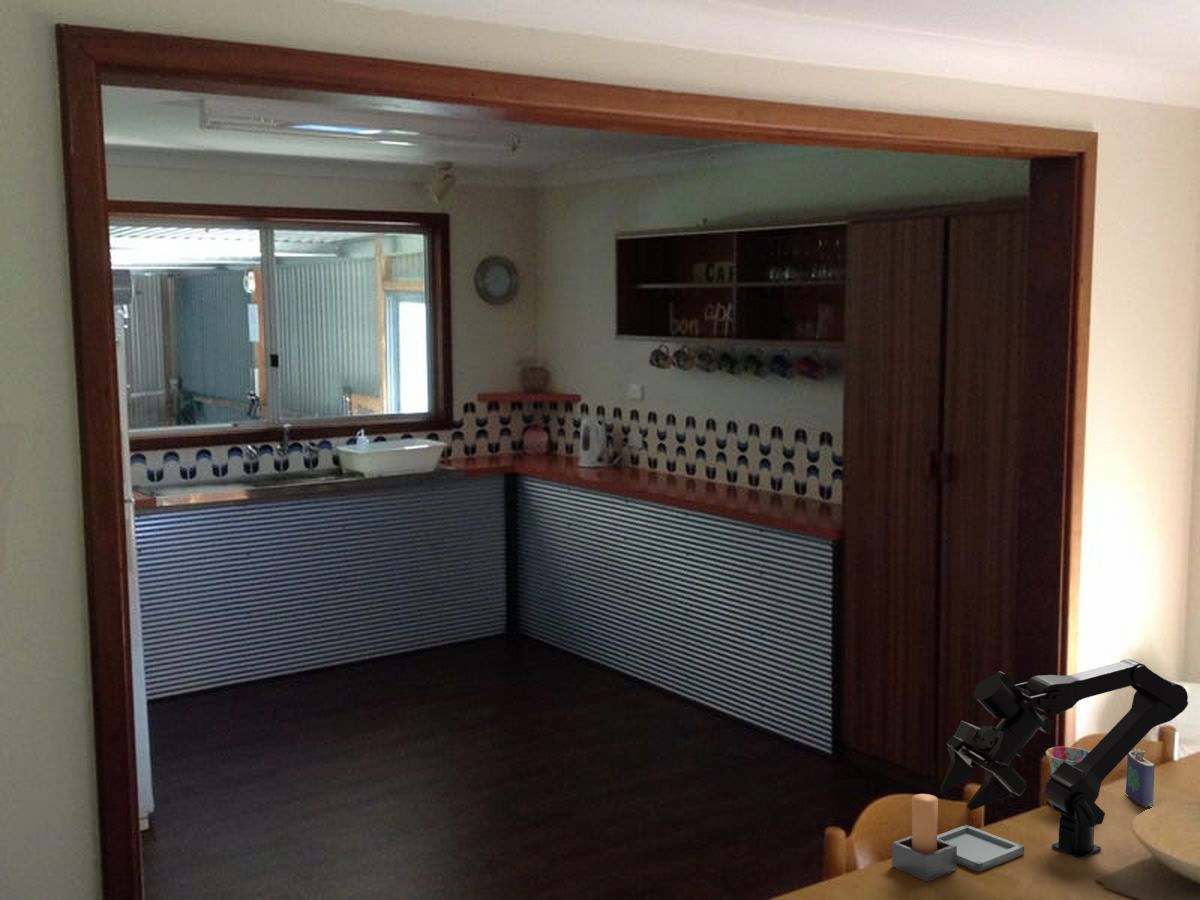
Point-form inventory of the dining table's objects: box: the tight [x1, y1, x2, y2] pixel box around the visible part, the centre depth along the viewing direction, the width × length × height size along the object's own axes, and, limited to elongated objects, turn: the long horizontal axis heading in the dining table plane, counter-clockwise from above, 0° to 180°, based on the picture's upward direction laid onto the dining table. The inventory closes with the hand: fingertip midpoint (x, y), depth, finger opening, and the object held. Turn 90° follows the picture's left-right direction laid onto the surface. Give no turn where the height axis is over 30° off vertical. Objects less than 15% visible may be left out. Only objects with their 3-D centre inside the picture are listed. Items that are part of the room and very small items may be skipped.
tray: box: [937, 824, 1025, 873], centre depth 239 cm, size 13×13×2 cm
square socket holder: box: [891, 835, 958, 883], centre depth 232 cm, size 8×8×4 cm
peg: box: [911, 793, 939, 854], centre depth 231 cm, size 4×4×13 cm
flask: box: [1124, 748, 1156, 809], centre depth 263 cm, size 9×3×11 cm, turn 2°
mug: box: [1045, 746, 1090, 801], centre depth 262 cm, size 12×9×11 cm
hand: (955, 799), depth 232 cm, fingers open, 9 cm apart
